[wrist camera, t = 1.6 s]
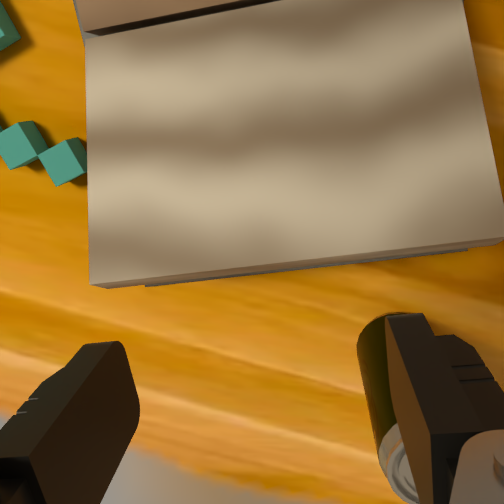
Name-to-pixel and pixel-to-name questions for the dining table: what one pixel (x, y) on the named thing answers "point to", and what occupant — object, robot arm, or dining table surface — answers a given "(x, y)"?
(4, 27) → the alien figure
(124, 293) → the dining table surface
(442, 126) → the beige flat slab
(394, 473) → the beer can
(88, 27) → the floor base
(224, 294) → the dining table surface
